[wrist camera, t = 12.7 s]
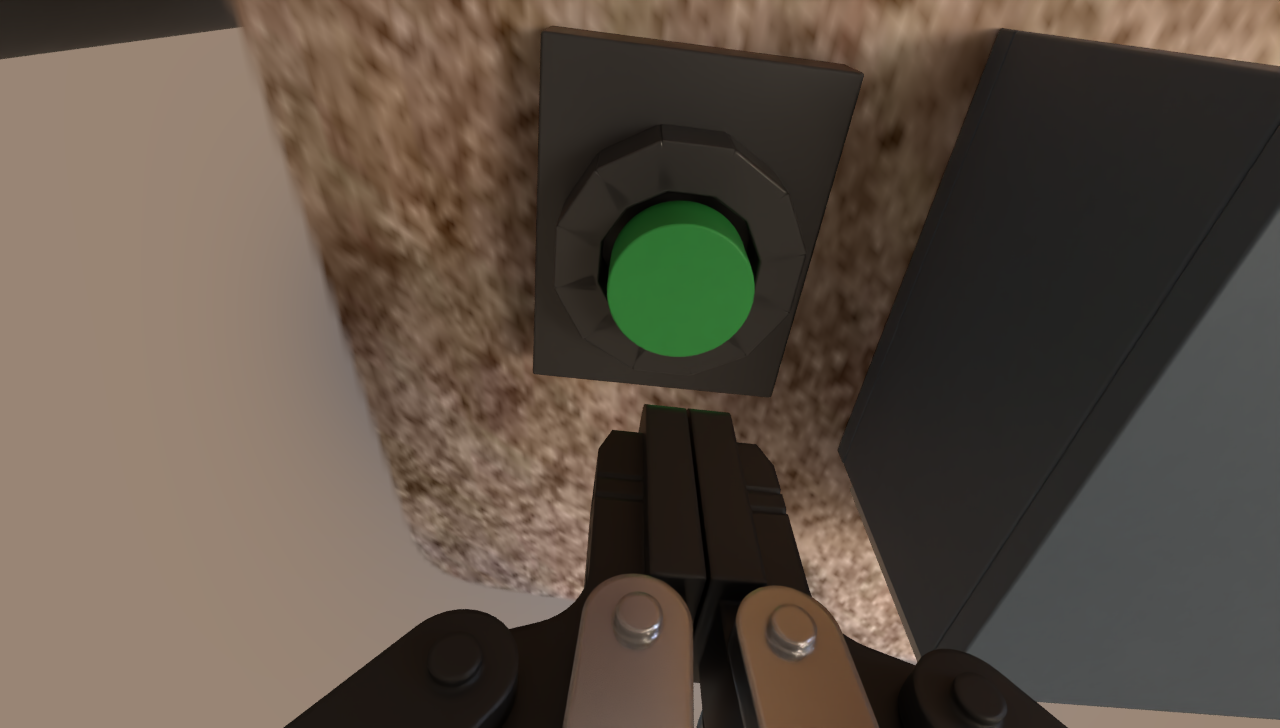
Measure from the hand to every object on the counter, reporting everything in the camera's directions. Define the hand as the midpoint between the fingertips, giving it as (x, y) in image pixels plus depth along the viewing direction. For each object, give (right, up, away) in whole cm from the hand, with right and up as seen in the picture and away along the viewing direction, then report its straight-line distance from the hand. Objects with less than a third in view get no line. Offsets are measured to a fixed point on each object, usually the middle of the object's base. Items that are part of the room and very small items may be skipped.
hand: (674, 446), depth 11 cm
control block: (0, +6, +8) cm, 10 cm away
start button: (0, +4, +5) cm, 7 cm away
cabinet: (+14, +4, +9) cm, 17 cm away
